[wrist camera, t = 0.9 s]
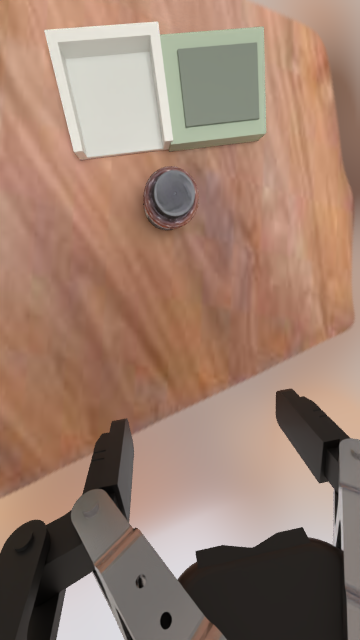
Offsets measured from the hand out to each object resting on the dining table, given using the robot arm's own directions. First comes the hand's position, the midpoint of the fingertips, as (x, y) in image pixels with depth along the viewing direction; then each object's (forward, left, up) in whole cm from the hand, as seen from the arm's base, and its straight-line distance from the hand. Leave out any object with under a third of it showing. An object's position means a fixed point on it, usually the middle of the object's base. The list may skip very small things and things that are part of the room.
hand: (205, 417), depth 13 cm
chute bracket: (-2, +24, -26) cm, 36 cm away
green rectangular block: (+10, +24, -26) cm, 37 cm away
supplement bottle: (+2, +13, -27) cm, 30 cm away
